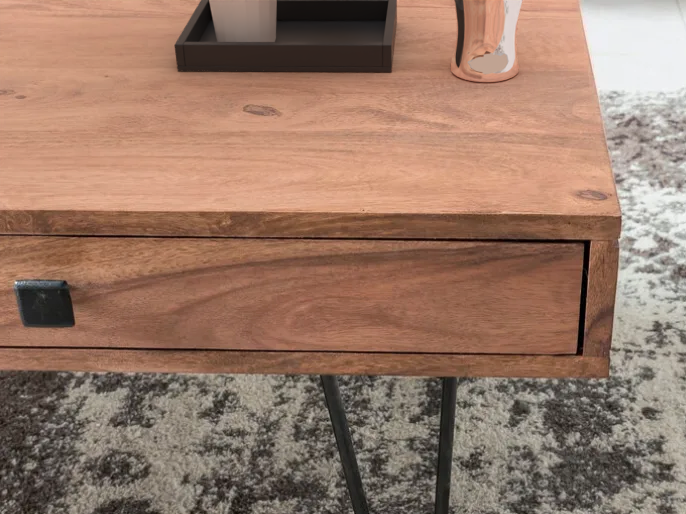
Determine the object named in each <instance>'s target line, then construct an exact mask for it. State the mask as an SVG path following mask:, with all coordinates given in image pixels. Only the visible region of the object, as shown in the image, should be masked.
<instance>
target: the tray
mask: <svg viewBox="0 0 686 514" xmlns="http://www.w3.org/2000/svg"><path fill="white" fill-rule="evenodd" d="M397 24H398V0H277V9H276V39H275V42H217V39H216V33H215V28H214V23H213V18H212V13H211V7H210V2H209V0H199V2H198V4H197V6H196V8H195V9H194V11H193V13H192V14H191V16H190V18H189V20H188V21H187V23H186V25H185V26H184V28H183V30H182V31H181V33H180V34H179V36H178V38H177V40H176V42H175V43H174V52H175V61H176V69H177V72H219V73H220V72H226V73H227V72H231V73H232V72H236V73H237V72H239V73H240V72H241V73H243V72H246V73H248V72H253V73H255V72H258V73H260V72H261V73H262V72H263V73H265V72H266V73H267V72H268V73H274V72H275V73H280V72H281V73H304V72H305V73H392V71H393V62H394V53H395V43H396V33H397V26H398V25H397Z"/></svg>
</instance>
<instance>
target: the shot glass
mask: <svg viewBox="0 0 686 514" xmlns="http://www.w3.org/2000/svg"><path fill="white" fill-rule="evenodd" d="M209 2H210V7H211V13H212V18H213V23H214V28H215V33H216V39H217V42H275V39H276V9H277V0H209Z"/></svg>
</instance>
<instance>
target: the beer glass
mask: <svg viewBox="0 0 686 514" xmlns="http://www.w3.org/2000/svg"><path fill="white" fill-rule="evenodd" d="M453 2H454V10H455V19H456V36H455V44H454V49H453V53H452V58H451V61H450V63H451V64H450V71H451V73H452V74H453V75H454V76H455V77H457V78H460V79H461V80H465V81H469V82H475V83H498V82H503V81H506V80H509V79H512V78H514V77H515V76H517V74H518V73H519V70H520V69H519V60H518V58H519V57H518V51H517V31H518V25H519V19H520V15H521V10H522V6H523V2H524V0H453Z"/></svg>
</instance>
